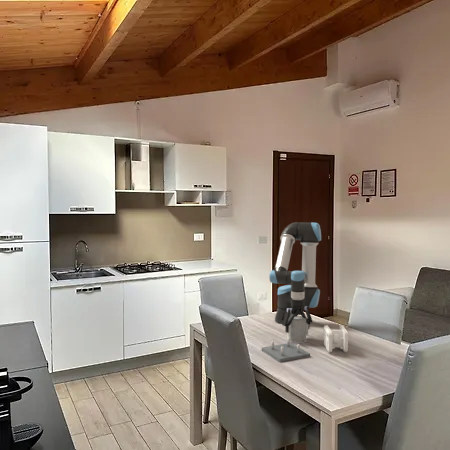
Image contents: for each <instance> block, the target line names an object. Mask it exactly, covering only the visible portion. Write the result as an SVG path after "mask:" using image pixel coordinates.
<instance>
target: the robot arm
mask: <svg viewBox="0 0 450 450" xmlns="http://www.w3.org/2000/svg"><path fill="white" fill-rule="evenodd" d="M279 238H280V246H279V248H278V249H279V250H278V252H277V253H278V254H277V259H276V262H275V266H274V269H272V270H270V271H269V275H268V276H269V282H270V283H271V284H278V285H279V284H282V286H279V287H278V288H277V294H276V295H277V309H276V312H275V317H274V322H275V323H277V324H281V325H282V326H283V327H285V328H284V329H285V332H286V338H287V339H290V327H289V326H290V324H291V322H292V320H293V319H294V317H295V316H302V317H303V318H306V337H308V336H309V330H310V325H311V324H312V323H313V319H312V315H311V312H310V309H311V308H316V307H318V304H319V301H320V295H321V290H320V289H319V288H318V285H317V284H316V269H317V267H316V265H317V264H316V263H317V261H316V259H317V246H318V245H319V243H320V241H322V230H321V225H320V224H319V223H318V222H311V221H310V222H306V221H305V222H297V221H296V222H291V223H290V224H288V225H287V226H286V227H284V229H283V231H282V232H281V234H280V237H279ZM296 241H300V245H302V250H301V251H302V256H301V258H302V259H301V270H293V271H289V270H288V269H289V266H290V265H289V264H290V259H291V255H292V250H293V246H294V244H295V243H296ZM283 284H284V285H283Z"/></svg>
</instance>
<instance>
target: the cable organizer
mask: <svg viewBox="0 0 450 450" xmlns="http://www.w3.org/2000/svg"><path fill="white" fill-rule="evenodd" d="M323 345H324V347H325V348H326V351H327V352H328V353H333V350H334V351H335V350H336V348H339V350H342V351H343V352H344V353H348V352H349V349H348V348H349V333H348V331H347V329H346V327H345V326H344V324H339V329H331V328H330V327H329V325H328V324H326V325H324V326H323Z"/></svg>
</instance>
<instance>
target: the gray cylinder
mask: <svg viewBox="0 0 450 450" xmlns="http://www.w3.org/2000/svg"><path fill="white" fill-rule="evenodd" d="M289 327H290V342H291V343H304V342H307V336H306V318H303V317H302V316H301V315H297V316H295V317H294V319H293V320H292V322H291V324H290V326H289Z"/></svg>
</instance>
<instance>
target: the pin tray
mask: <svg viewBox="0 0 450 450" xmlns="http://www.w3.org/2000/svg"><path fill="white" fill-rule="evenodd" d="M261 351H262V352H263V353H265V354H266V355H268V356H269V357H271V358H272V359H274V360H276V362H278V363H282V362H288V361H292V360H298V359H299V360H300V359H303V358H304V359H305V358H310V357H311V353H310V352H308V351H306V350H305V349H302V348H301V344H300V343H297V344H293V342H291V341H290V339H289V338H287V339H286V343H283V344H277V345H275V341H273V340H272V341H271V342H270V346H264V347H261Z"/></svg>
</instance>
